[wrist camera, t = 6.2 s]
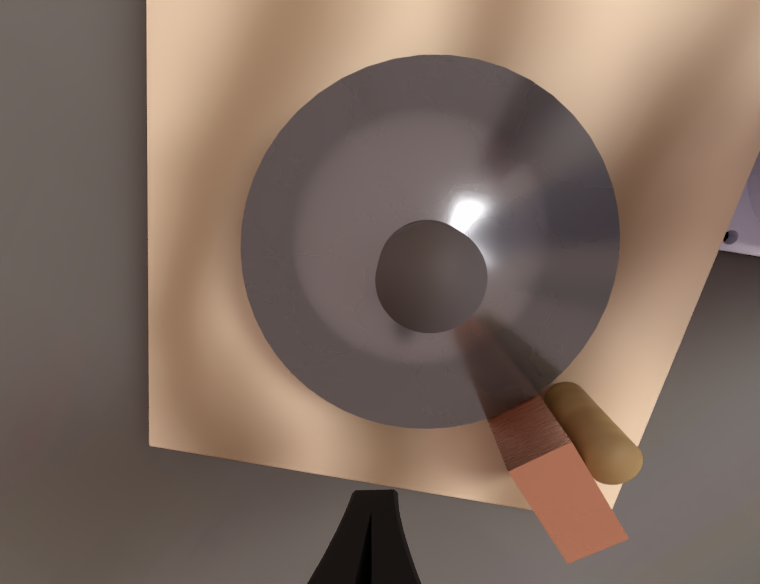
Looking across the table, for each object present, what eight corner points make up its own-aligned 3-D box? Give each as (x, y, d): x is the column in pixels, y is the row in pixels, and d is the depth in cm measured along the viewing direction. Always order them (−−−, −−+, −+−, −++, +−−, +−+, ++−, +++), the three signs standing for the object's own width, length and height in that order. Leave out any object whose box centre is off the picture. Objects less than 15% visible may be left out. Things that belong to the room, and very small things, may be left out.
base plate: (779, 2, 12) (1031, -121, 7) (589, 495, 17) (662, 611, 13) (175, -100, 12) (29, -293, 7) (169, 424, 17) (83, 514, 13)
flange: (182, 206, 13) (104, 212, 9) (495, -26, 11) (541, -127, 7) (422, 529, 16) (430, 620, 13) (701, 400, 14) (800, 468, 10)
